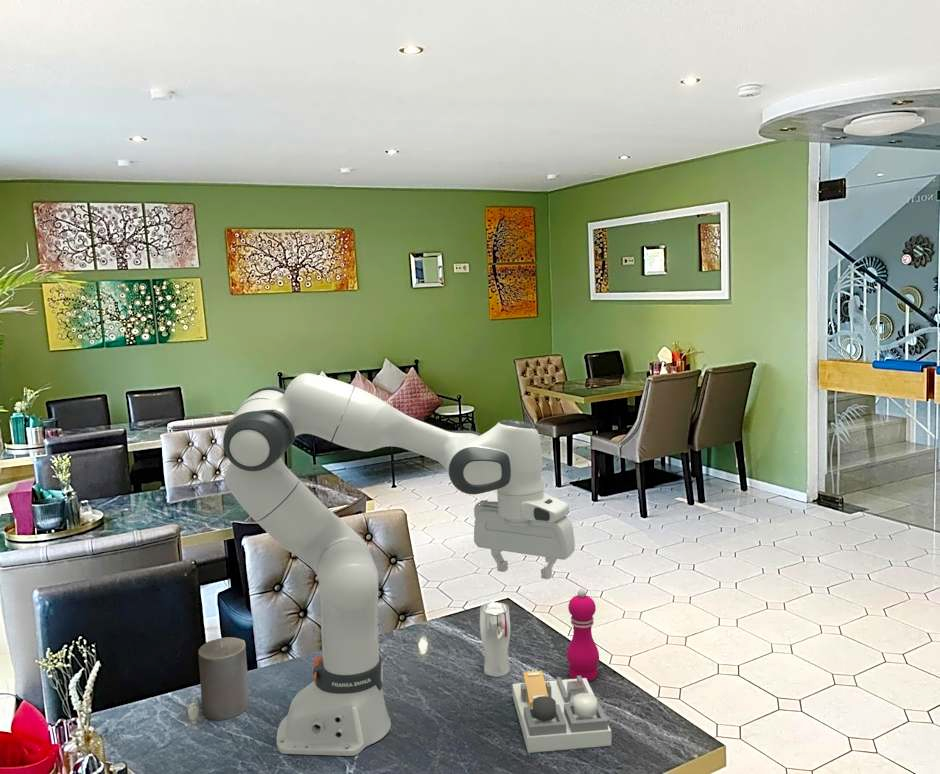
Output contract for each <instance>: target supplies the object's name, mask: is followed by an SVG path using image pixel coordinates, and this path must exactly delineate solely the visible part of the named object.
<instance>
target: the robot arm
mask: <svg viewBox="0 0 940 774" xmlns="http://www.w3.org/2000/svg"><path fill="white" fill-rule="evenodd" d="M303 434H306V435H307V434H308V435H312V436H316V437H318V438H321V439H323V440H326V441H327V442H330V443H333V444H335V445H338V446H341V447H344V448H346V449H347V448H348V449H350V450H351V449H352V450H356V451H361V452H372V451H374V450H378V449H382V448H385V447H394V448H395V447H397V448H401V449H404V450H407V451H409V452H412V453H415V454H418V455H421V456H424V457H426V458H429V459H431V460H434V461H436V462H438V463H439V464H441V465H442V466H443V468H444V469H446V471H447V474H448V477H449V480H450V481H451V483H452V485H453V486H454V487H455V489H457V490H458V491H460V492H461V493H464V494H466V495H479V494H484V493H489V492H492V491H496V492H497V493H496V494H497V501H493V500H492V501H491V500H490V501H488V500H483V499H482V500H480V501H478V502H476V503H475V505H474V507H473V513H474V519H475V520H474V527H473V542H474V544H475V545H476V547H478V548H482V549H486V550H487V549H488V550H490V555H491V557H492V558H493V560H494V561H495V563H496V569H497V571H498V572H503V573H506V572H507V571H508V570H509V566H508V565H509V562H508V560H505V559H504V557H503V555H502V552H509V553H516V554H523V555H528V556H536V557H543V558H545V559H544V560H545V563H547V564H546V566H544V567H543V568H541V569H540V574H541V575H540V577H541V579H545V580H550V579H551V578H552V576H553V571H552V569H553V567H554V565H555V564H556V562H557V560H567V559H568V558H570V557H571V556H572V554H573V553H574V552H575V550H576V549H575V547H576V545H575V544H576V543H575V535H574V533H575V532H574V527H573V523H572V520H571V519H570V518H569V517H568V516H567V515H568V513H569V511H570V507H569V506H570V505H569V504H568V503H567V502H565V501H563V500H562V499H561V500H560V499H558V498H557V497H555V496H552V495H550V494H548V493H547V492H544V491H545V489H544V485H543V481H542V470H543V453H542V444H541V443H542V442H541V437H540V434H539V430H537V429H536V427H534V425H532V424H531V423H528V422H526V421H522V420H517V419H502V420H500V421H498V422H497V423H496V425H494V426H493V427H491V428H490V429H489V430H488V431H486V432H484V433H483V434H481V433H480V432H477V431H474V430H449V429H445V428H441V427H438V426H436V425H435V424H434V425H433V424H431V423H428V422H426V421H423V420H419V419H417V418H415V417H412V416H409V415H407V414H405V413H403V412H402V411H400V410H399V409H397V408H395V407H394V406H392V405H390V404H389V403H387V402H386V401H384V400H383V399H381V398H380V397H377V396H376V395H374V394H372V393H370V392H369V391H366V390H364V389H362V388H360V387H357V386H355V385H353V384H350V383H348V382H345V381H342V380H338V379H335V378H331V377H328V376H324V375H320V374H316V373H310V372H305V373H301V374H299V375H297V376H296V377H294V378H293V379H292V380H291V381H290V383H289V384H288V385H287V387H286V389H284V388H282V387H277V386H266V387H262V388H259V389H257V390H255V391H253V392H252V393H251V394H249V395H248V397H247V398H246V399H245V400H244V401H243V402H242V403H241V404H240V405H239V407H237V409H235V412H234V414H233V416H232V418H231V420H230V421H229V422H228V424H227V426H226V427H225V430H224V433H223V438H222V439H223V440H222V444H223V445H222V446H223V450H224V453H225V455H226V458H227V459H228V460H229V462H230V463H229V465H228V467H227V469H226V470H225V475H224V476H225V477H224V480H225V481H224V482H225V484H226V486H227V488H228V489H229V491H230V492H231V494H232V496H233V497H234V498H235V500H236V501H237V502H238V503H239V504H240V506H241V507H242V509H244V511H245V512H246V513H247V514H248V515H249V517H251V518H252V520H253V521H255V522H256V523H257V524H258V525H259V526H260V527H261V528H262V529H263V531H265V532H266V533H267V534H268V535H269V536H270V537H271V538H272V539H273V540H274V541H275V542H276V543H278V545H280V546H281V548H282V549H283V550H284V551H287V552H290V553H292V554H293V555H294V556H296V557H297V558H298V559H300V560H301V561H303V562H304V563H305V564H306V565H308V566H309V567H310V568H311V569H312V570H313V572H314V573H315V574H316V576H317V579H318V586H319V601H320V632H321V650H322V656H320V655H318V656H316V657H315V658H313V659H314V660H313V664H312V667H313V673H312V674H313V681H312V682H311V683H309V684H308V685H306V686H305V687H304V688H303V689H301V690H300V691H298V693H296V695H295V696H294V698H293V699H292V701H291V703H290V705H289V708H288V713H287V715H286V716H284V717H283V718H282V721H281V722H280V723H279V726H278V728H277V732H276V741H275V743H276V748H277V750H278V752H280V753H281V754H284V755H285V754H286V755H311V756H312V755H313V756H339V757H341V756H342V757H343V756H344V757H345V756H346V757H348V756H349V757H350V756H351V757H354V756H356V755H359V754H360V753H361V752H362V751H363V750H364V749H365V748H367V747H369V746H370V745H372V744H375V743H376V742H378V741H380V740H382V739H383V738H384V737H385V736H386V735H387V734H388V733H389V731H390V730H391V726H392V722H391V718H390V716H389V714H388V710H387V706H386V702H385V697H384V690H383V685H384V671H383V670H384V669H383V668H384V667H383V663H382V657H381V655H380V650H379V649H380V648H379V631H378V630H379V629H378V627H379V626H378V615H379V570H378V569H377V566H376V563H375V560H374V558H373V556H372V554H371V551H370V549H369V546H368V544H367V542H366V541H365V540H364V539H363V538H362V537H361V536H360V534H359V533H357V532H356V531H355V530H354V529H353V528H352V527H350V526H349V525H348V524H347V523H346V522H345V521H344V520H342V518H340V517H339V516H338V515H337V514H335V513H334V512H333V511H332V510H330V509H329V508H328V507H327V506H326V505H325V504H324V503H323V502H322V501H321V500H320V499H319V498H318V497H317V496H316V495H315V494H314V493H313V492H312V491H311V489H309V488H308V487H307V486H306V485H305V483H303V482H302V481H301V479H299V478H298V477H297V475H295V474H294V472H292V471H291V470H290V469H289V468H288V466H287V465H286V464H285V462H284V460H283V458H282V457H283V455H284V454H285V453H286V451H287V450H288V449H289V448H290V447H291V446H292V445H293V444H294V443H295V441H296V437H297V436H300V435H303Z"/></svg>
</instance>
